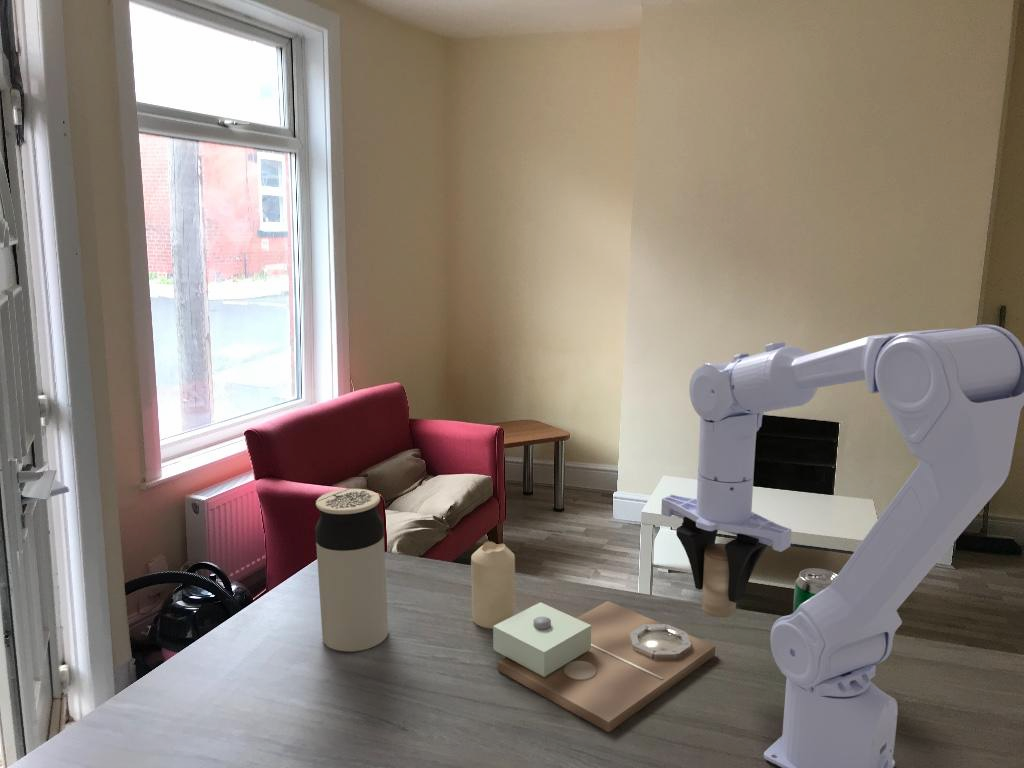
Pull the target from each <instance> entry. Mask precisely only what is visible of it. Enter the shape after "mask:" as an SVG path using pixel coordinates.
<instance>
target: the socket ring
mask: <svg viewBox="0 0 1024 768" xmlns="http://www.w3.org/2000/svg"><path fill="white" fill-rule="evenodd" d="M687 634H688V633H687V632H686V631H684V630H682V629H680V628H677V627H674V626H672V625H669V624H666V623H662V624H645V625H642V626H640V627H638V628H637V629H635V630H634V631H632V632H630V641H631V644H632V648H633V649H634V651H636V652H638V653H641V654H643V655H645V656H647V657H649V658H651V659H653V658H654V659H677V658H680V657H681V656H683V655H684V654H686V653H687V652H689V651H690V650H691V642H690V640H689V637H688V635H689V634H688V635H687Z"/></svg>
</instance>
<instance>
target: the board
mask: <svg viewBox="0 0 1024 768" xmlns="http://www.w3.org/2000/svg"><path fill="white" fill-rule="evenodd" d="M575 618H576V619H579V620H581V621H583V622H585V623H587V624H590V625H591V649H590V650H588V651H587V652H585V653H583V654H582V655H580V656H578V657H577V658H575V659H573V660H572V661H570V662H568V663H567V664H565V665H563V666H562V667H560V668H558V669H557V670H555V671H553V672H552V673H550V674H548V675H547V676H545V677H543V676H541V675H540V674H538V673H536V672H534V671H532V670H530V669H528V668H527V667H525V666H523V665H521V664H519V663H517V662H515V661H514V660H512V659H510V658H508V657H506V656H504V657H503V658H501V659H499V660H498V661H497V671H498V672H500V673H501V674H503V675H505V676H507V677H509V678H510V679H512V680H514V681H516V682H517V683H520V684H521V685H523V686H524V687H526V688H528V689H530V690H532V691H534V692H535V693H537V694H538V695H541V696H542V697H544V698H546V699H548V700H549V701H551V702H554V703H555V704H557V705H559V706H560V707H562V708H564V709H565V710H567V711H569V712H571V713H572V714H575V715H577V716H578V717H580V718H582V719H583V720H586V721H587V722H589V723H590V724H592V725H594V726H596V727H598V728H599V729H601V730H603V731H605V732H606V733H610V732H612V731H613V730H615V728H617V727H618V726H620V725H621V724H623V723H624V722H626V721H627V720H628V719H629V718H631V717H632V716H634V715H635V714H637V712H639V711H641V710H642V709H643V708H645V707H646V706H647V705H649V704H650V703H651V702H653V701H654V700H655V699H657V698H659V697H660V696H661V695H662V694H664V693H665V692H666V691H668V690H670V689H671V688H672V687H673V686H675V685H677V684H678V683H679V682H680V681H682V680H683V679H684V678H686V677H687V676H688V675H690V674H692V673H693V672H694V671H696V670H697V669H698V668H700V667H701V666H703V664H705V663H707V662H708V661H709V660H711V659H712V658H713V657H715V656H716V645H713V644H711V643H709V642H707V641H704V640H702V639H699V638H697V637H695V636H693V635H690V634H688V633H687V635H688V637H689V640H690V642H691V650H690V651H689V652H687V653H686V654H684V655H683V656H681V657H680V658H677V659H654V658H653V659H651V658H649V657H647V656H645V655H643V654H641V653H638V652H636V651H634V649H633V648H632V644H631V641H630V632H632V631H634V630H635V629H637V628H638V627H640V626H642V625H645V624H663V623H661V622H660V621H656V620H654V619H652V618H650V617H647V616H645V615H643V614H640V613H637V612H636V611H632V610H631V609H629V608H627V607H625V606H621V605H619V604H616V603H614V602H612V601H609V600H606V601H605V602H603V603H601V604H599V605H597V606H595V607H594V608H592V609H590V610H588V611H586V612H585V613H583V614H581V615H579V616H578V617H575Z"/></svg>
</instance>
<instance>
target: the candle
mask: <svg viewBox="0 0 1024 768" xmlns="http://www.w3.org/2000/svg"><path fill="white" fill-rule="evenodd" d="M515 555H516V554H514V552H513V551H511V549H509V548H508V546H506V544H505V543H499V544H496V543H495V542H494V541H486V542H484V543H483V545H481V546H480V547H479V548H477V550H476V551H474V552H473V553H472V554H471V559H470V567H471V569H470V570H471V572H470V573H471V607H472V608H471V611H472V613H471V614H472V620H473V623H476V624H475V625H477V626H478V625H479V627H481V628H485V629H491V630H493V626H494V625H496V624H498V623H500V622H502V621H504V620H506V619H508V618H510V617H512V616H514V615H516V556H515Z"/></svg>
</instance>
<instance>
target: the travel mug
mask: <svg viewBox="0 0 1024 768" xmlns="http://www.w3.org/2000/svg"><path fill="white" fill-rule="evenodd" d="M380 500H381V496H380V495H379V494H378V493H377V492H375V491H372V490H369V489H364V488H363V489H362V488H344V489H338V490H333V491H329V492H327V493H324V494H322V495H320V496H319V497H318V498H317V500H315V506H316V508H317V509H318V511H319V519H318V521H317V523H316V525H315V541H316V542H315V545H316V558H317V559H316V560H317V573H318V588H319V589H318V591H319V592H318V593H319V605H320V618H321V637H322V641H323V643H324V645H326V646H327V647H328V648H330V649H333V650H335V651H341V652H351V653H352V652H359V651H364V650H367V649H368V650H369V649H371V648H374V647H375V646H377V645H379V644H380V643H382V642H383V641H384V640H385V639H386V638H387V637H388V634H389V623H388V622H389V621H388V619H389V618H388V600H387V579H386V558H385V557H386V555H385V554H386V553H385V535H384V534H385V533H384V530H385V529H384V521H383V519H382V518H381V515H380V514H379V513H378V505H379V503H380V502H381V501H380Z"/></svg>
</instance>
